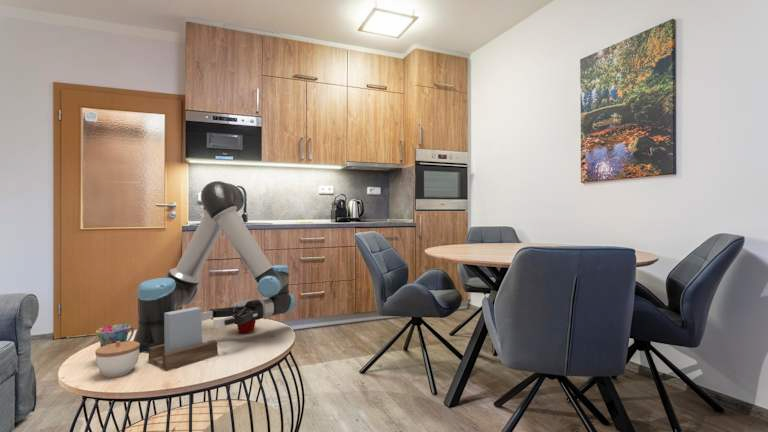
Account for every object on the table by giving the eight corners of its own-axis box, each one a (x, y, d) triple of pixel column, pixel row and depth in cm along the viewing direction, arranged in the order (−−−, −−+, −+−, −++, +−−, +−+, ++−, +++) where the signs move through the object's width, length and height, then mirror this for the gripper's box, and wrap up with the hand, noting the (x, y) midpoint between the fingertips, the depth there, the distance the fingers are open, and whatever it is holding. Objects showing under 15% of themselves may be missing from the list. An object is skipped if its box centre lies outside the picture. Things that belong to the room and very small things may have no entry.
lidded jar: (116, 365, 118) (116, 335, 118) (148, 366, 117) (148, 336, 117) (85, 380, 107) (85, 346, 107) (120, 381, 106) (120, 347, 106)
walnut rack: (148, 361, 121) (148, 347, 121) (198, 347, 133) (198, 335, 133) (166, 371, 113) (166, 355, 113) (217, 355, 126) (217, 341, 126)
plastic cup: (236, 328, 157) (235, 299, 157) (262, 327, 158) (262, 298, 158) (227, 336, 146) (227, 305, 147) (256, 335, 147) (255, 304, 147)
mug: (112, 367, 116) (112, 333, 116) (88, 365, 118) (87, 331, 118) (145, 354, 128) (144, 322, 128) (121, 352, 130) (121, 321, 130)
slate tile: (164, 357, 120) (164, 312, 121) (196, 348, 128) (195, 306, 128) (170, 359, 118) (169, 314, 118) (202, 350, 126) (201, 308, 126)
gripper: (279, 323, 137) (223, 339, 120) (240, 314, 152) (186, 326, 136) (278, 303, 137) (223, 315, 121) (240, 295, 153) (186, 305, 136)
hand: (203, 321), depth 128 cm, fingers open, 13 cm apart
